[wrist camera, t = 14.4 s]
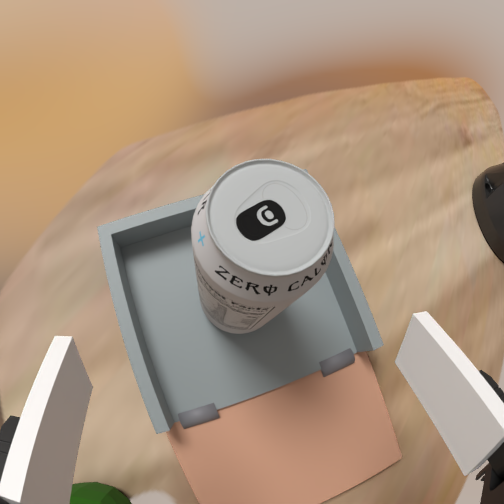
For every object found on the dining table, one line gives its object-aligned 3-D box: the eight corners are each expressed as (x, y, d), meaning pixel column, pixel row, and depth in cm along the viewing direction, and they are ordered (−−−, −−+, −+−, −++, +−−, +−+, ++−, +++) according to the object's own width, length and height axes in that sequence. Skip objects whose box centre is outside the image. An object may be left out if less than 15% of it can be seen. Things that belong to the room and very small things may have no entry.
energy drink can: (289, 307, 26) (377, 237, 12) (227, 349, 24) (252, 328, 10) (247, 248, 27) (285, 128, 13) (185, 286, 25) (159, 188, 11)
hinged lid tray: (293, 194, 31) (306, 169, 27) (395, 455, 24) (422, 465, 20) (112, 246, 27) (97, 226, 23) (218, 532, 20) (220, 557, 15)
